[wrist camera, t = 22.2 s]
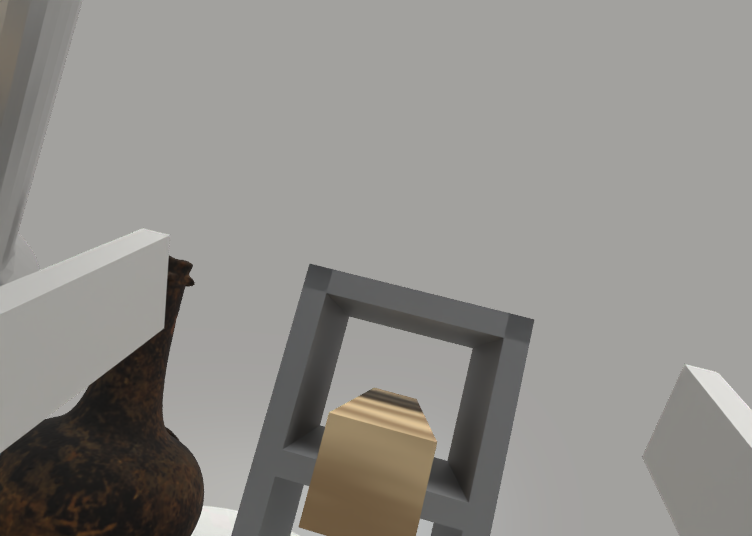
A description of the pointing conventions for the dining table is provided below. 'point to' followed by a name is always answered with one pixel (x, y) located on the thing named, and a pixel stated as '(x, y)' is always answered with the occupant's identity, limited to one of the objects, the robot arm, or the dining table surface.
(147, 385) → the glass bottle
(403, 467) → the wooden bar
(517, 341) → the shelf
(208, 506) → the dining table surface
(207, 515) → the dining table surface
